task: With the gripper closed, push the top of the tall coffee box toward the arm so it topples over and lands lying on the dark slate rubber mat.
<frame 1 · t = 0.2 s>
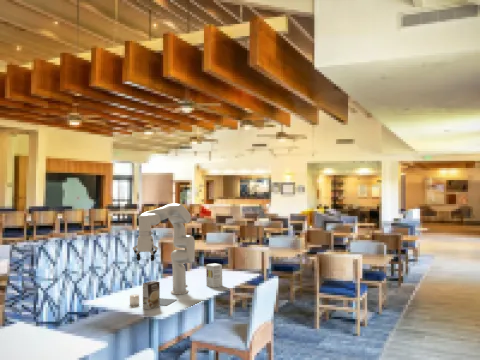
hand: (145, 260, 262), 31 cm above the table, fingers open, 9 cm apart
coffee box: (151, 307, 265), on the table
slate mat: (161, 302, 277), on the table
supplement box: (214, 286, 322), on the table
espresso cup: (134, 304, 273), on the table
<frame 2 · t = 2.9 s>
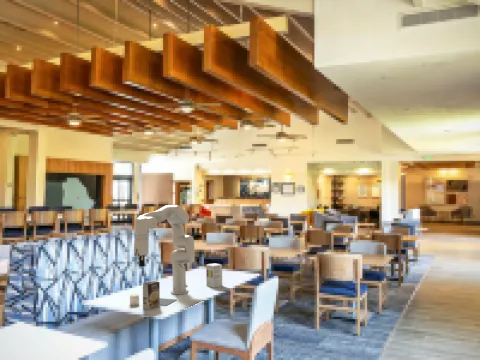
hand: (141, 266, 259), 28 cm above the table, fingers closed
nothing on the table moved.
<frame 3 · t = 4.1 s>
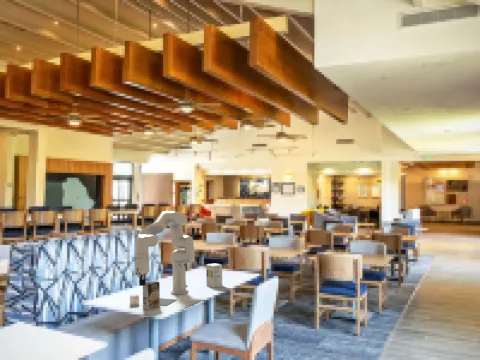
hand: (142, 285, 256), 16 cm above the table, fingers closed
nothing on the table moved.
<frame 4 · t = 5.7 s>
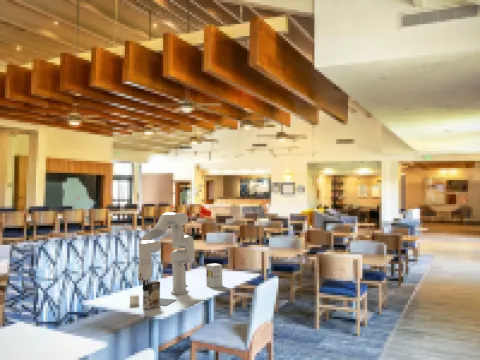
hand: (145, 290, 259), 12 cm above the table, fingers closed
coffee box: (151, 307, 265), on the table, touching gripper
everything else where it was.
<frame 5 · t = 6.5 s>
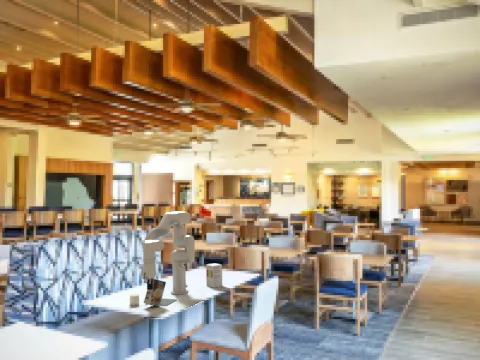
hand: (149, 289, 264), 12 cm above the table, fingers closed
coffee box: (151, 305, 265), point 1 cm above the table, touching gripper
everything else where it was.
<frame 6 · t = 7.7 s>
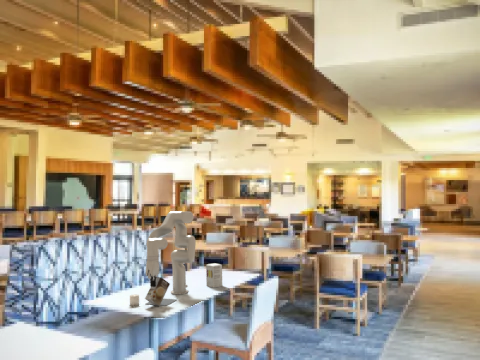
hand: (153, 286, 268), 13 cm above the table, fingers closed
coffee box: (152, 302, 266), point 3 cm above the table, touching gripper, slate mat
everything else where it was.
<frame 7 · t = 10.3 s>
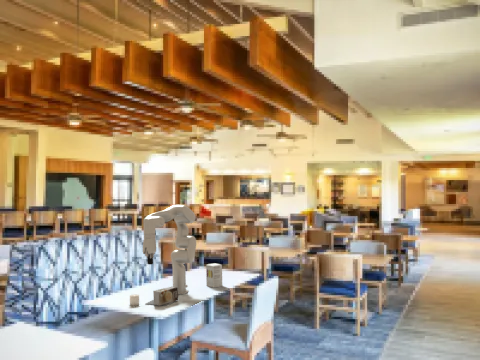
hand: (150, 264, 269), 27 cm above the table, fingers closed
coffee box: (156, 298, 269), point 5 cm above the table, touching slate mat
everything else where it was.
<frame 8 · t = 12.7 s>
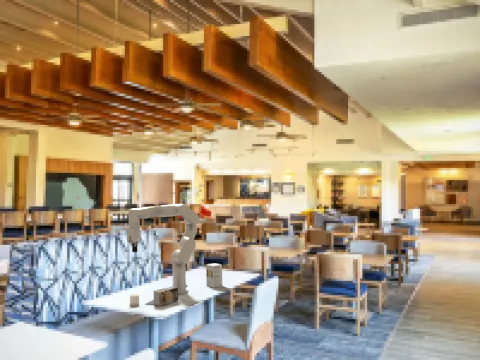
hand: (134, 252, 288), 33 cm above the table, fingers closed
nothing on the table moved.
at the end: coffee box tilted 89°; coffee box inside the target area (6.6 cm from its centre), point 4.8 cm above the table; the gripper is holding nothing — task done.
